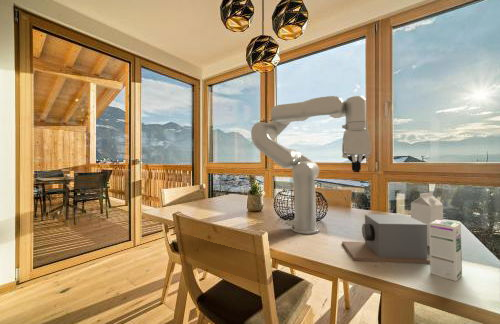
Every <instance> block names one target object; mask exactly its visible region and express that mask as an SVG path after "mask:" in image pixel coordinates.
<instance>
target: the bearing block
mask: <svg viewBox="0 0 500 324" xmlns="http://www.w3.org/2000/svg"><path fill="white" fill-rule="evenodd" d="M364 224H371V225H372V226H373V229H374V240H373V241H365V240H364V241H346V240H345V241H344V240H343V241H341V245H342V246H343V247H344V249H345V250H346V252H347V253H348V255H349V256H350V257H351V258H352V260H353V261H355V262H356V261H358V262H376V263H378V262H380V263H385V262H386V263H401V264H402V263H406V264H407V263H408V264H425V265H426V264H429V265H430V257H429V256H428V246H427V224H425V223H422V222H420V221H418V220H416V219H414V218H411V216H409V215H407V214H381V213H380V214H379V213H378V214H377V213H376V214H375V213H374V214H371V213H370V214H369V213H368V214H366V213H365V214H364Z"/></svg>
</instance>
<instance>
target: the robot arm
mask: <svg viewBox="0 0 500 324" xmlns="http://www.w3.org/2000/svg"><path fill="white" fill-rule="evenodd" d="M269 113H270V114H269V116H270V118H271V119H272V120H271V121H270V122H269V123H267V122H263V121H258V122H256V123H254V124H253V126H252V127H251V130H250V136H251V140H252V142H253V145H254V146H255V147H256V149H258V151H260V152H261V153H263V155H265V156H266V157H268V158H269V159H270V160H271V161H273V162H274V163H275V164H277V165H278V166H280V167H281V168H282V169H291V170H292V181H293V192H294V193H293V195H294V218H293V219H292V220H289V219H287V220H285V221H284V224H285V225H287V226H291V231H293V232H295V233H297V234H304V235H315V234H318V233H319V232H320V227H319V226H318V225H317V206H316V205H317V204H316V203H317V201H316V200H317V199H316V197H317V195H316V191H317V190H316V181H315V179H317V178H318V176H319V174H320V167H319V166H318V164H317V163H316V162H315V161H313V160H312V159H310V158H309V157H308V156H306V155H304V154H303V153H301V152H300V151H298V150H296V149H291V148H287V147H285V146H283V145H282V144H280V143H279V142H277V141H276V140H275V139H276V138H278V136H279V135H280V134H281V133H282V132H284V130H285V129H286V128H288V126H289V125H290V124H291V123H292V122H305V121H306V120H308V119H310V118H312V117H318V116H329V117H331V118H332V119H339V118H345V124H342V126H341V129H345V130H344V131H343V135H342V148H341V151H342V152H341V153H342V156H341V157H342V159H343V158H344V159H348V161H350V163H351V171H352V172H353V173H360V172H361V169H362V167H361V166H362V165H361V163H362V161H364V160H365V159H366V158H370V157H371V153H372V143H371V136H370V131H369V129H367V114H366V113H367V104H366V98H365V97H364V96H363V95H353V96H350V97H348V98H347V99H345V100H343V99H342V98H340V97H339V96H335V95H329V96H320V97H314V98H311V99H308V100H304V101H300V102H293V103H283V104H277V105H275V106H272V108H271V110H270V112H269Z"/></svg>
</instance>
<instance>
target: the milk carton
mask: <svg viewBox="0 0 500 324" xmlns="http://www.w3.org/2000/svg"><path fill="white" fill-rule="evenodd" d="M410 217H411V218H414V219H416V220H418V221H420V222H422V223H425V224H427V247H430V243H429V223H431V222H433V221H435V220H444V204H443V203H442V202H441V201H440V200H439V199H438V198H437V197H435V196H434V192H424V193H420V194H419V197H418V198H416V199H414V200H413V201H411V202H410Z"/></svg>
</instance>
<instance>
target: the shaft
mask: <svg viewBox="0 0 500 324" xmlns="http://www.w3.org/2000/svg"><path fill="white" fill-rule="evenodd" d="M361 233H362V237H363V241H364V242H365V241H373V240H374V229H373V226H372V225H371V224H365V223H363V224H362V226H361Z"/></svg>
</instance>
